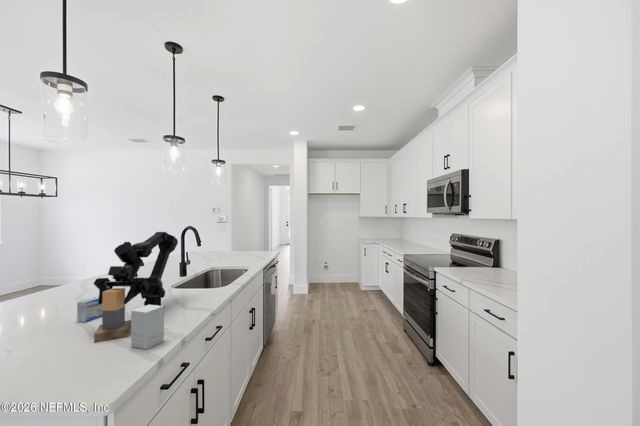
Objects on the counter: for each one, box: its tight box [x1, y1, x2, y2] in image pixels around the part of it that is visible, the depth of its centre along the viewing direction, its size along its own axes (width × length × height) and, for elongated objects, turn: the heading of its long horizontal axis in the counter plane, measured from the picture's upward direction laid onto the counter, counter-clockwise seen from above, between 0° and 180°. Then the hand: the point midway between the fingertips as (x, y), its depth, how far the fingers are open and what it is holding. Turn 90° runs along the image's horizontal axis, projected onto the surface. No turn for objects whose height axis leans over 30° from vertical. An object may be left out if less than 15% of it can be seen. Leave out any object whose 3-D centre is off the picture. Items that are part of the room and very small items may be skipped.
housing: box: [101, 287, 126, 329], centre depth 107 cm, size 5×5×14 cm
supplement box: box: [130, 304, 165, 350], centre depth 99 cm, size 7×7×13 cm
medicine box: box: [76, 296, 103, 323], centre depth 123 cm, size 8×4×9 cm, turn 169°
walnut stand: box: [93, 319, 131, 343], centre depth 107 cm, size 10×10×3 cm
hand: (111, 303), depth 106 cm, fingers open, 9 cm apart
